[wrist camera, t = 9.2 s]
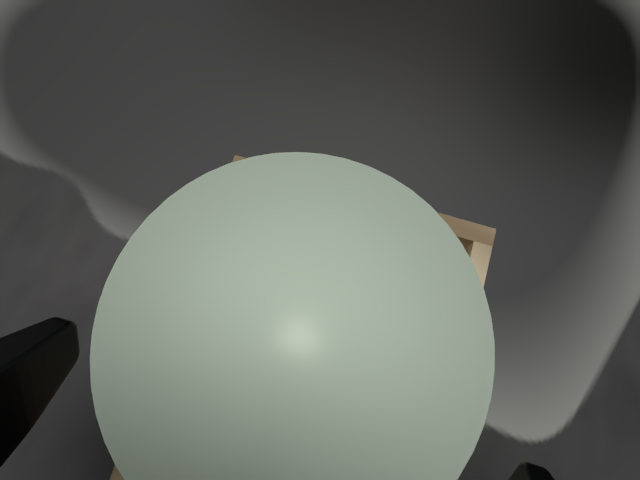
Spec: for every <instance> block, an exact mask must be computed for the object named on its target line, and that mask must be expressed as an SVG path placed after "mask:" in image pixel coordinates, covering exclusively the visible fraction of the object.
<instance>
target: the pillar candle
mask: <svg viewBox="0 0 640 480" xmlns="http://www.w3.org/2000/svg"><path fill="white" fill-rule="evenodd" d="M494 372H495V343H494V335H493V327H492V320H491V314H490V311H489V307H488V303H487V299H486V295H485V291H484V289H483V286H482V284H481V281H480V279H479V276H478V274H477V271H476V269H475V266H474V264H473V263H472V261H471V259H470V257H469V255H468V254H467V252H466V250H465V248H464V246H463V245H462V243H461V242H460V240H459V239H458V238H457V236H456V235H455V234H454V232H453V231H452V229H451V228H450V227H449V225H448V224H447V223H446V222H445V221H444V220H443V219H442V218H441V216H440V215H439V214H438V213H437V212H436V211H435V210H434V209H433V208H432V207H431V206H430V205H429V204H428V203H427V202H425V201H424V200H423V199H422V198H421V197H419V196H418V195H417V194H416V193H415V192H413V191H412V190H411V189H409V188H407V187H406V186H405V185H403V184H401V183H400V182H398V181H397V180H395V179H394V178H392V177H390V176H388V175H386V174H384V173H382V172H380V171H378V170H376V169H374V168H372V167H369V166H366V165H363V164H361V163H357V162H355V161H352V160H349V159H345V158H340V157H336V156H331V155H326V154H318V153H305V152H290V153H289V152H288V153H273V154H267V155H260V156H254V157H250V158H246V159H243V160H239V161H236V162H232V163H229V164H227V165H224V166H222V167H220V168H217V169H215V170H212V171H210V172H208V173H206V174H204V175H202V176H201V177H199V178H197V179H195V180H194V181H192V182H190V183H188V184H187V185H185V186H184V187H182V188H181V189H180V190H178V191H177V192H176V193H174V194H173V195H171V196H170V197H169V198H167V199H166V200H165V201H164V202H163V203H162V204H161V205H160V206H159V207H158V208H157V209H155V211H153V212H152V213H151V214H150V215H149V216H148V217H147V218H146V220H145V221H144V222H143V223H142V224H141V226H140V227H139V228H138V229H137V230H136V231H135V233H134V234H133V235H132V236H131V238H130V239H129V241H128V243H127V244H126V246H125V247H124V249H123V250H122V252H121V253H120V255H119V256H118V258H117V260H116V262H115V264H114V266H113V268H112V270H111V272H110V274H109V276H108V278H107V280H106V283H105V286H104V289H103V292H102V295H101V298H100V300H99V303H98V307H97V311H96V316H95V321H94V325H93V330H92V338H91V350H90V379H91V390H92V396H93V402H94V408H95V414H96V417H97V420H98V423H99V427H100V430H101V433H102V436H103V440H104V442H105V444H106V446H107V448H108V451H109V453H110V455H111V457H112V459H113V461H114V463H115V466H116V467H117V469H118V470H119V472H120V474H121V475H122V477H123V478H124V480H457V479H458V478H459V476H460V474H461V473H462V471H463V469H464V467H465V466H466V464H467V462H468V460H469V459H470V457H471V455H472V454H473V451H474V449H475V447H476V444H477V442H478V439H479V437H480V434H481V432H482V430H483V427H484V424H485V420H486V416H487V412H488V408H489V405H490V401H491V396H492V388H493V379H494Z"/></svg>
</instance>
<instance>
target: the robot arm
mask: <svg viewBox="0 0 640 480" xmlns="http://www.w3.org/2000/svg"><path fill="white" fill-rule="evenodd" d="M78 356H79V341H78V332H77V326H76V324H75V323H74V322H72V321H69V320H66V319H63V318H59V317H53V318H50V319H47V320H45V321H42V322H40V323H37V324H34V325H32V326H29V327H27V328H24V329H22V330H19V331H17V332H14V333H12V334H9V335H7V336H4V337H1V338H0V467H1V466H2V465H3V463H4V462H5V461H6V460H7V458H8V457H9V456H10V455H11V454H12V452H13V451H14V450H15V449H16V447H17V446H18V445H19V444H20V443H21V441H22V440H23V439H24V438H25V436H26V435H27V434H28V432H29V431H30V430H31V428H32V427H33V426H34V424H35V423H36V421H37V420H38V419H39V417H40V416H41V414H42V413H43V411H44V410H45V408H46V407H47V405H48V404H49V402H50V401H51V399H52V398H53V396H54V395H55V393H56V392H57V390H58V389H59V387H60V386H61V384H62V383H63V381H64V380H65V378H66V377H67V375H68V374H69V372H70V371H71V369H72V368H73V366H74V365H75V363H76V361H77V359H78ZM508 480H554V478H553V477H552V475H551V474H550V473H549V471H548V470H547V469H545V468H544V467H541V466H538V465H535V464H532V463H529V462H522V463H520V464H519V465H518V467H517V468H516V470H515V471H514V472H513V474H512V475H511V477H510V478H509V479H508Z"/></svg>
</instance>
